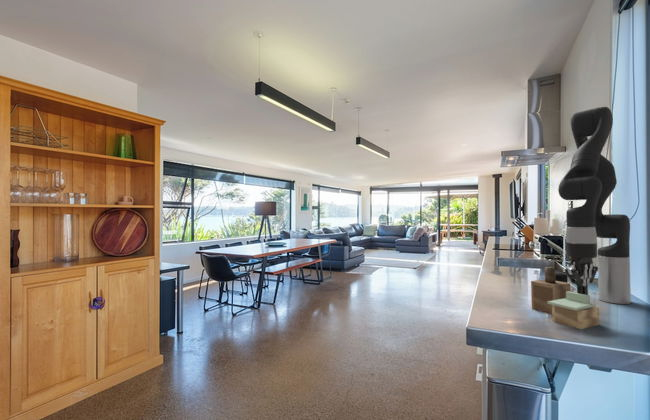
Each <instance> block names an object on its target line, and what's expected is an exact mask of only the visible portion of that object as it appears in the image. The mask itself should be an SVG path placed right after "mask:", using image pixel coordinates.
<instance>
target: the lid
mask: <svg viewBox="0 0 650 420" xmlns="http://www.w3.org/2000/svg"><path fill="white" fill-rule="evenodd" d="M547 304H551V305H555V306H559V307H563V308H567V309H571V310H576V311H577V310H581V309H586V308H591V307H595V306H596V305H595V304H594V303H591V295H589V294H588V295H585V294H579V293H577V292H574V291H573V292H569V291H567V292H566V298H564V299H558V300H553V301H547Z"/></svg>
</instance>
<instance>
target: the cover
mask: <svg viewBox="0 0 650 420" xmlns="http://www.w3.org/2000/svg"><path fill="white" fill-rule="evenodd" d="M555 272H556V267H553V266H545V267H544V279H536V280H531V281H530V288H531V290H530V291H531V293H530V294H531V295H530V296H531V298H530V299H531V310H534V311H537V312H541V313H546V314H549V315H552V305H551V304H547V301H553V300H558V299H564V298H566V292H567V291H569V292H570V287H571V283H570V282H568V283H566V282H560V281H556V278H555Z"/></svg>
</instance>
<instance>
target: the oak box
mask: <svg viewBox="0 0 650 420" xmlns="http://www.w3.org/2000/svg"><path fill="white" fill-rule="evenodd" d="M551 317H552V318H551V320H552V322H554V323H558V324H562V325H564V326H569V327H572V328H576V329H579V330H584V329H588V328H591V327H595V326H600V307H599V306H596V305H595V307H591V308H586V309H581V310H577V311H576V310H571V309H567V308H563V307H559V306H555V305H552V314H551Z"/></svg>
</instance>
